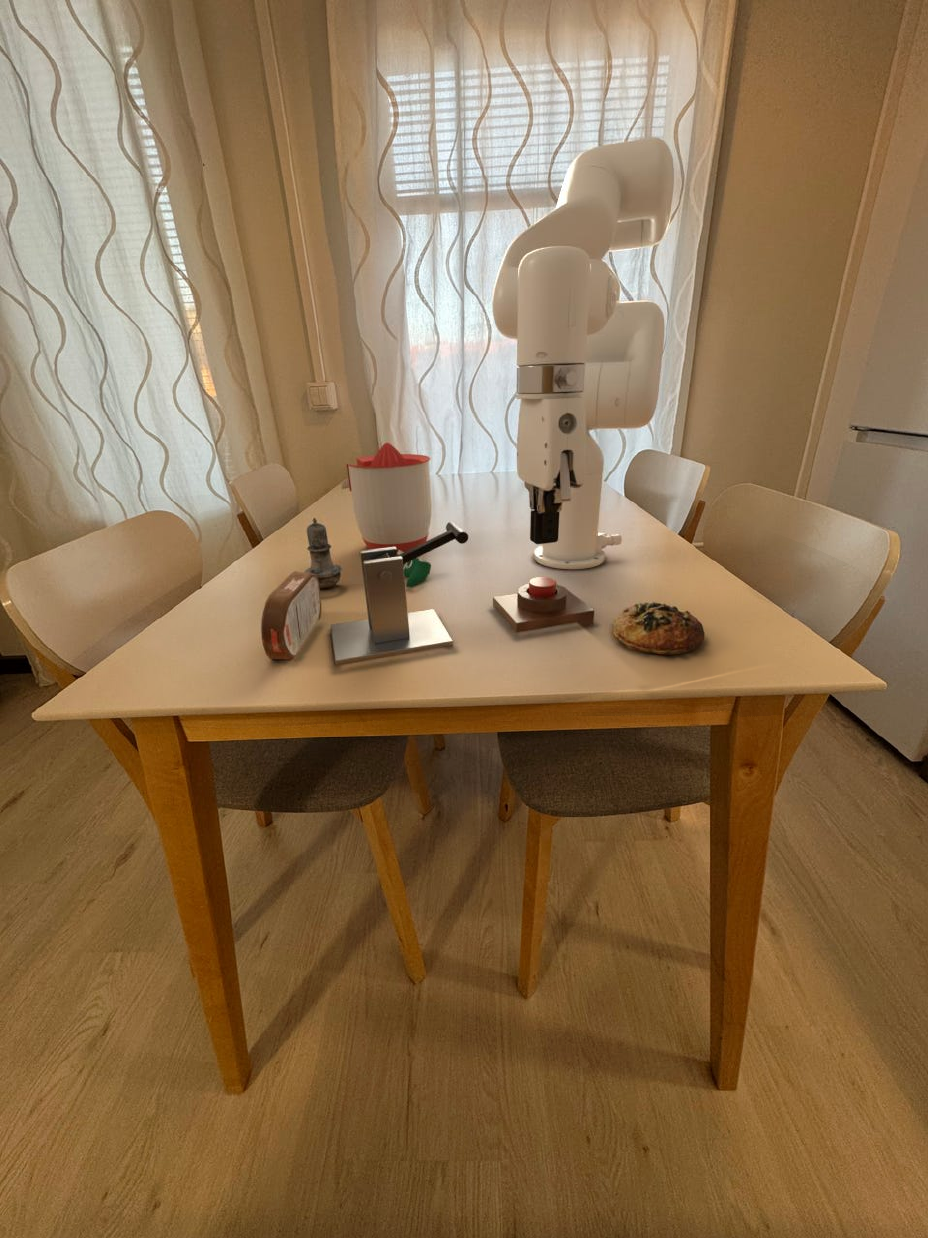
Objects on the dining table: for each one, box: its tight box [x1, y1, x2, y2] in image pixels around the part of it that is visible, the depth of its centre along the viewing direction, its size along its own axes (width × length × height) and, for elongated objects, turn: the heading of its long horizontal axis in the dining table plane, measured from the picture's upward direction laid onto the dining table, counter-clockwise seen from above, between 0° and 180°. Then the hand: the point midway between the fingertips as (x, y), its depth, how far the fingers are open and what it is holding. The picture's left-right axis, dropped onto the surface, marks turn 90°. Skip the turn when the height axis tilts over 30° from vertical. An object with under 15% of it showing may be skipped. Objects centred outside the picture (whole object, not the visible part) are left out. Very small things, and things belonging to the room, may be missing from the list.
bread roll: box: [612, 601, 706, 656], centre depth 62 cm, size 11×11×5 cm
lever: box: [373, 521, 469, 564], centre depth 60 cm, size 12×5×2 cm, turn 107°
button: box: [528, 576, 557, 597], centre depth 67 cm, size 4×4×2 cm
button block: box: [492, 583, 595, 633], centre depth 68 cm, size 11×9×4 cm
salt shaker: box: [303, 517, 343, 590], centre depth 78 cm, size 6×6×12 cm
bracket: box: [330, 547, 454, 666], centre depth 61 cm, size 14×10×12 cm
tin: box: [260, 570, 322, 661], centre depth 63 cm, size 15×3×8 cm, turn 178°
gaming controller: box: [397, 550, 432, 588], centre depth 83 cm, size 9×4×6 cm
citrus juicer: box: [341, 442, 433, 554], centre depth 97 cm, size 16×17×20 cm
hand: (543, 541), depth 64 cm, fingers closed
